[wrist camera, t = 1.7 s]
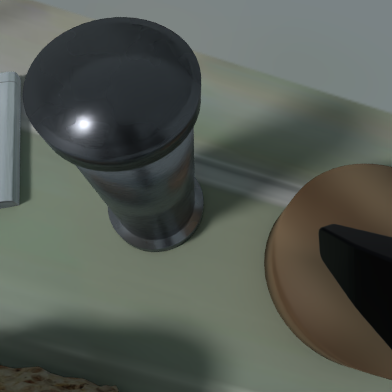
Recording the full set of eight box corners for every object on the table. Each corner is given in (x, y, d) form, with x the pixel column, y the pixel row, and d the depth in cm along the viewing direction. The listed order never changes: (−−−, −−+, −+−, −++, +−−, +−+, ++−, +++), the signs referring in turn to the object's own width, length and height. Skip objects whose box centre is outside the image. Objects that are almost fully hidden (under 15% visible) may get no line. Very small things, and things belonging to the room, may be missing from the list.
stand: (372, 418, 18) (418, 444, 14) (228, 263, 21) (234, 250, 18) (480, 276, 21) (541, 266, 17) (338, 159, 24) (363, 130, 20)
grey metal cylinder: (150, 272, 21) (87, 208, 9) (93, 203, 23) (-22, 74, 11) (222, 209, 23) (250, 85, 11) (163, 150, 25) (130, -13, 13)
